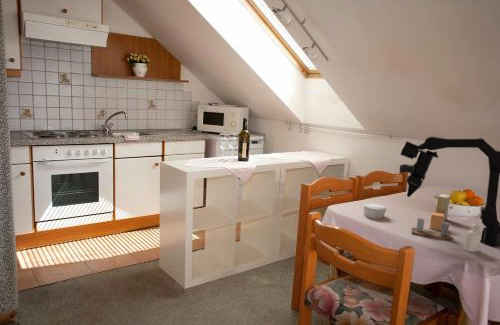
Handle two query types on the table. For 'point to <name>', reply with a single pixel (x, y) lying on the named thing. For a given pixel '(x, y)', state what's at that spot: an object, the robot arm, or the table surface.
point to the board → (431, 234)
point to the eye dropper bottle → (473, 239)
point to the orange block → (436, 220)
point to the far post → (420, 225)
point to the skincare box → (443, 205)
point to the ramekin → (374, 210)
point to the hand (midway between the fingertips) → (409, 194)
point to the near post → (444, 229)
